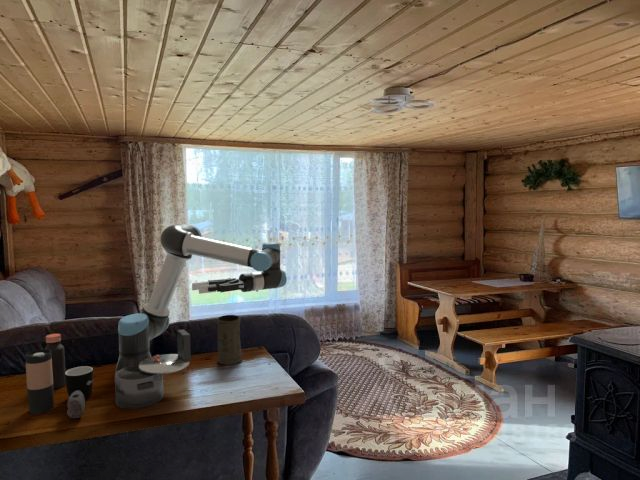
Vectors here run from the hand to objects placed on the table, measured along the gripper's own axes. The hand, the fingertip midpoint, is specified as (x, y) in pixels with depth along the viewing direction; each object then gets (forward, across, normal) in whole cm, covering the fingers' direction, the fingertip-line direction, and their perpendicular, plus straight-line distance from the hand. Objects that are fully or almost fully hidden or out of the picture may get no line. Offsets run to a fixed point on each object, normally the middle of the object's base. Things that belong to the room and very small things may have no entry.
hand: (195, 288), depth 171 cm
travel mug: (+51, +10, -38) cm, 65 cm away
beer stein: (-22, +19, -38) cm, 48 cm away
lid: (+13, 0, -27) cm, 30 cm away
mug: (+39, +14, -38) cm, 56 cm away
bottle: (+46, +30, -38) cm, 67 cm away
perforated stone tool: (+42, +1, -38) cm, 57 cm away
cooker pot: (+22, 0, -38) cm, 44 cm away
